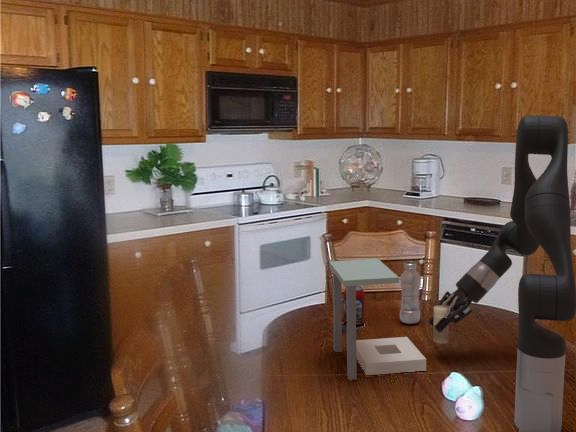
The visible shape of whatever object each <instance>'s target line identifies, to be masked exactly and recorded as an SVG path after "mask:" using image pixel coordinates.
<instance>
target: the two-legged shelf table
mask: <svg viewBox="0 0 576 432" xmlns="http://www.w3.org/2000/svg"><path fill="white" fill-rule="evenodd" d="M328 267H329V268H330V270H331V271H332V303H333V304H332V312H333V313H332V315H333V316H332V318H333V319H332V321H333V325H332V327H333V352H334V351H335V352H342V353H343V320H342V319H343V318H342V317H343V313H342V312H343V311H342V309H343V308H342V307H343V306H342V305H343V304H342V286H343V287H345V289H346V309H347V323H346V370H347V371H346V377H347V376H348V378H347V380H348V379H358V378H357V370H358V369H357V363H358V361H357V359H356V340H357V326H356V286H373V285H375V286H377V285H389V284H390V285H392V284H400V276H398V274H396V273H395V272H394V271H393V270H392V269H390V267H388V266H387V265H386V264H384V262H383V261H381V260H380V259H379V258H367V259H349V260H330V261H328ZM335 352H334V353H335Z"/></svg>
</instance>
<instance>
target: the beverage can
mask: <svg viewBox="0 0 576 432" xmlns="http://www.w3.org/2000/svg"><path fill="white" fill-rule="evenodd" d="M365 297H366V293H365V291H364V289H363V286H362V285H360V286H356V320H361V321H362V322H363V324H364V323H366V322H365V321H366V320H365V319H366V312H365V311H366V309H365V308H366V299H365ZM346 321H347V309H346V288H345V289H344V290H343V322H344V323H345V322H346Z"/></svg>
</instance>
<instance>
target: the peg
mask: <svg viewBox="0 0 576 432" xmlns="http://www.w3.org/2000/svg"><path fill="white" fill-rule="evenodd" d="M448 308H449V307H447V306H443V304H442V305H438V304H437V305H433V316H434V320H433V326H432V328H433V330H432V331H433V332H432V333H433V335H432V337H433V338H432V339H433V340H432V341H433V342H434V343H436V344H447V343H449V329H450V328H449V324H450V323H449V324H448V325H447V326H446V327H445V328H444V329H443V330H442V332H438V331H437V330H436V329H435V328H434V326H435V325H436V324H437V323H438V322H439V321H440V320H441V319H442V318H443V317H444V316H445V315H446V313H447V312H448Z"/></svg>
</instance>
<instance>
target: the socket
mask: <svg viewBox="0 0 576 432" xmlns="http://www.w3.org/2000/svg"><path fill="white" fill-rule="evenodd" d="M356 358H357V359H356V361H357V360H358V361H357V363H358V362H359V363H360V365H361V366H360V365H359V366H360V368H361V367H362V368H361V370H362V369H363V370H364V372H365V373H364V372H363V373H364V375H365V374H366V375H371V374H372V375H373V374H388V373H400V372H415V371H426V372H427V358H426V357H425V356H424V355H423V354H422V353H421V351H420V350H419V349H418V348H417V347H416V346H415V344H414V343H413V342H412V341H411V340H410V339H409V337H408V336H400V337H399V336H398V337H386V338H385V337H384V338H371V339H369V338H368V339H356ZM359 363H358V364H359ZM363 370H362V371H363ZM366 375H365V376H366Z"/></svg>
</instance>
